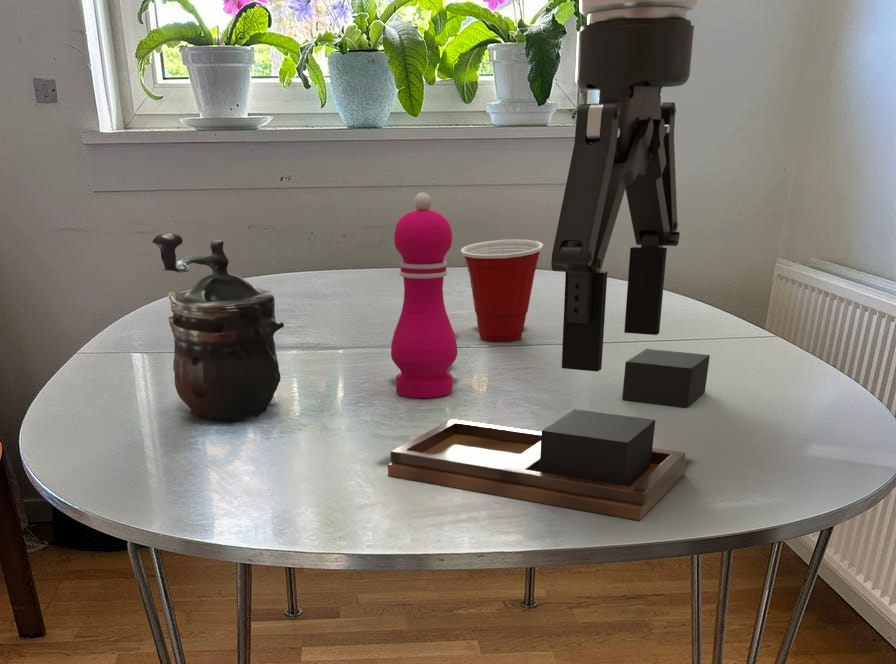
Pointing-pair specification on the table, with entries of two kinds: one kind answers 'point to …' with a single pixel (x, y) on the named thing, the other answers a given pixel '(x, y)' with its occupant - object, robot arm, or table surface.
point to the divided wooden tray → (525, 470)
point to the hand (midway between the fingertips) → (613, 350)
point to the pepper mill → (423, 305)
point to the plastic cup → (501, 285)
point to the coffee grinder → (221, 338)
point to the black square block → (598, 447)
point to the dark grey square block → (665, 377)
